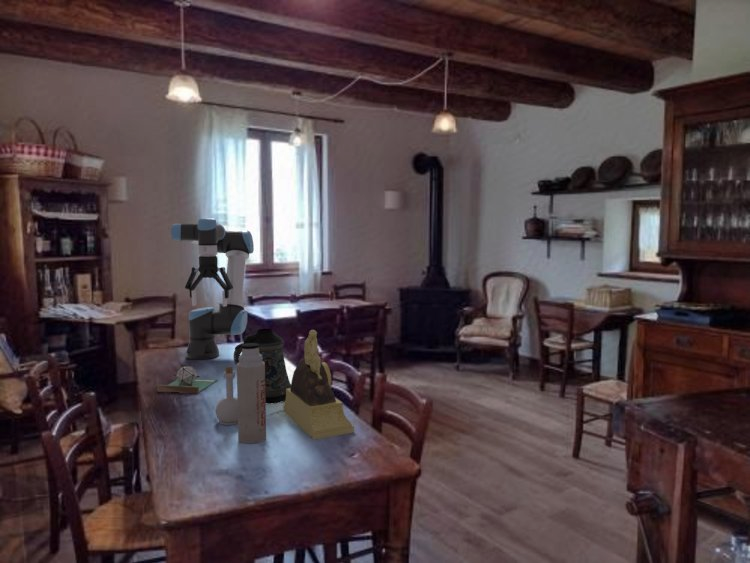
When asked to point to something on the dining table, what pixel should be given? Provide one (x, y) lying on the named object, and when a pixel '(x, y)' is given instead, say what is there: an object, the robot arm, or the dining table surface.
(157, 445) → the dining table surface
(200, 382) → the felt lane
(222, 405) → the potion bottle
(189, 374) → the game die
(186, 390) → the walnut backstop rail
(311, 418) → the seated figure statue
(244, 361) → the thermos bottle
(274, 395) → the beer stein
